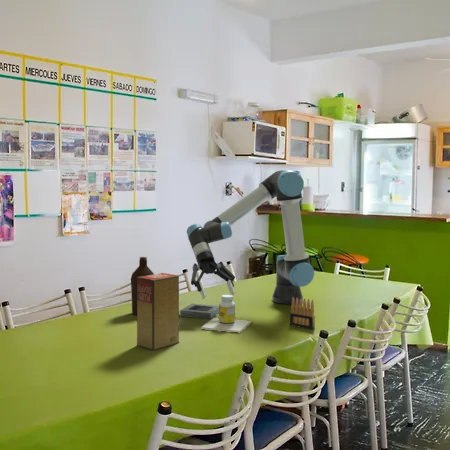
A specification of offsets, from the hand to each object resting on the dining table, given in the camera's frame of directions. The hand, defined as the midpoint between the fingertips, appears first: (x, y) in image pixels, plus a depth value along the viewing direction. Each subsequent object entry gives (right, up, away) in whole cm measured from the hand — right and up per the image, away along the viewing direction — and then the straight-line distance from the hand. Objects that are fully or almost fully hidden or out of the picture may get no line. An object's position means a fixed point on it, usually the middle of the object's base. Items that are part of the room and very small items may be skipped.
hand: (219, 295), depth 234 cm
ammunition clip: (+34, -13, -3) cm, 36 cm away
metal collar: (-8, -10, +15) cm, 20 cm away
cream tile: (+3, -12, -5) cm, 13 cm away
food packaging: (-22, -14, -30) cm, 40 cm away
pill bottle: (+3, -11, -5) cm, 12 cm away
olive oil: (-34, -10, +14) cm, 38 cm away
